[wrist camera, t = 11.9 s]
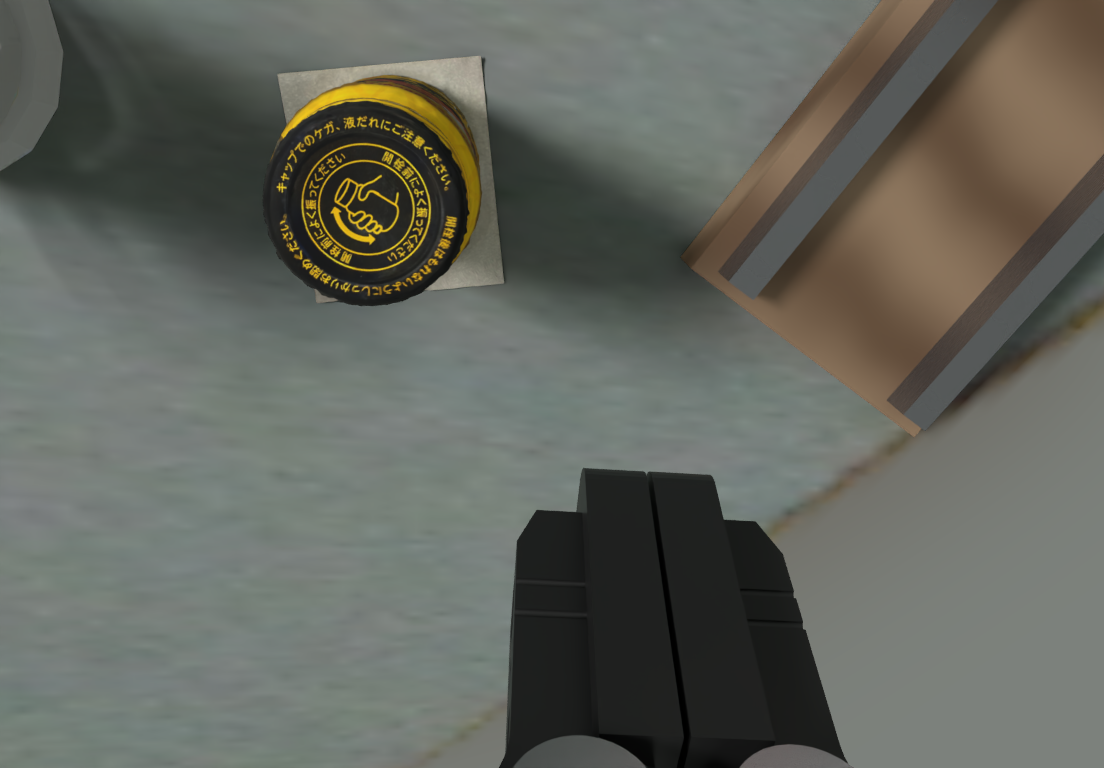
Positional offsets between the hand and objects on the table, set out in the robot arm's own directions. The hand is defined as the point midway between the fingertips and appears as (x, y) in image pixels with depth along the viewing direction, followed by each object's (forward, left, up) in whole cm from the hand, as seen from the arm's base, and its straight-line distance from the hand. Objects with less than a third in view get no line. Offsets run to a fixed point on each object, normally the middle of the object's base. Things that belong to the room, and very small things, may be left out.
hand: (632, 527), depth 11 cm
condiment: (-1, -5, -27) cm, 27 cm away
